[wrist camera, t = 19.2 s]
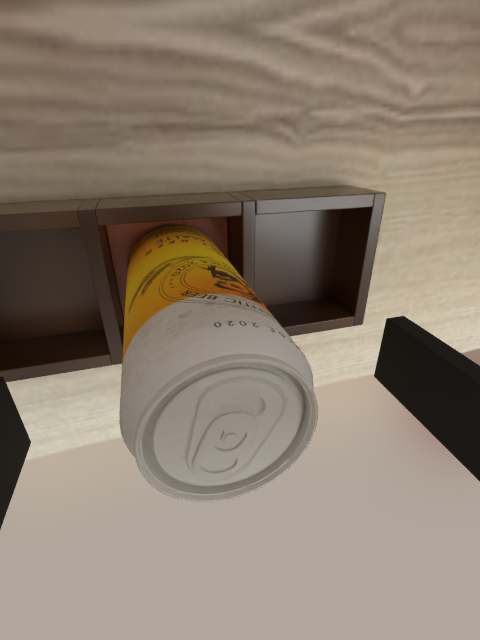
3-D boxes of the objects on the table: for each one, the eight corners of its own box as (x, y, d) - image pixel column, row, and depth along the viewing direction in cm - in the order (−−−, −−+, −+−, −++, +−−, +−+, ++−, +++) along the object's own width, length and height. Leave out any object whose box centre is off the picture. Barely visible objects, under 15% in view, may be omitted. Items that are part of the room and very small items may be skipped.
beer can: (233, 239, 22) (365, 367, 10) (204, 319, 25) (281, 510, 12) (141, 208, 20) (154, 321, 7) (117, 299, 22) (95, 512, 9)
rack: (350, 185, 24) (386, 192, 20) (334, 302, 28) (362, 324, 25) (-84, 206, 18) (-135, 222, 14) (-19, 352, 22) (-47, 391, 19)
